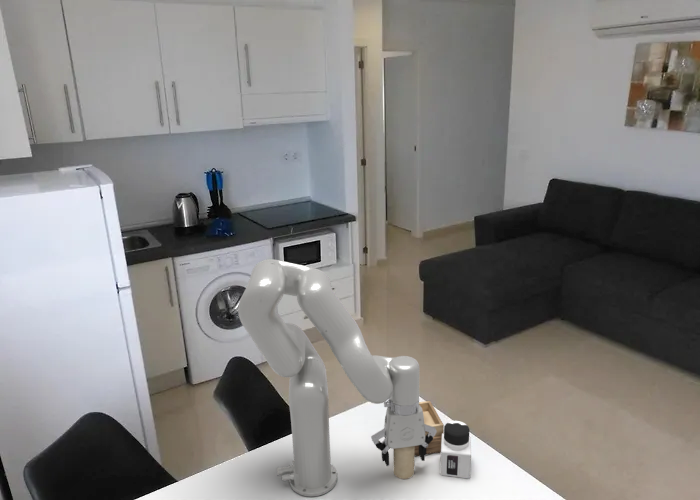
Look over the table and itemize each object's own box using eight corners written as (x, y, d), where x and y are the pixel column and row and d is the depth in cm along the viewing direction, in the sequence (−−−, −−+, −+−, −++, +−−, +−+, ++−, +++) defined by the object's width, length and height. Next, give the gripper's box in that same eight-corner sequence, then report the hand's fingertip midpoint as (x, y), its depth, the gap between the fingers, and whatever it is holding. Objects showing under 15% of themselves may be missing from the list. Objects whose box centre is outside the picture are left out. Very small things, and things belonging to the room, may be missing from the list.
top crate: (401, 441, 144) (401, 430, 143) (391, 415, 155) (390, 405, 154) (443, 435, 146) (443, 425, 145) (429, 410, 157) (430, 400, 156)
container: (470, 479, 136) (472, 436, 132) (440, 475, 138) (441, 433, 134) (469, 459, 143) (471, 418, 140) (441, 456, 145) (442, 415, 141)
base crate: (400, 458, 144) (400, 443, 143) (389, 429, 157) (389, 415, 155) (445, 452, 146) (446, 437, 145) (430, 423, 159) (430, 409, 157)
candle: (391, 466, 142) (391, 434, 139) (411, 464, 142) (412, 432, 139) (395, 480, 137) (395, 448, 134) (416, 478, 137) (416, 446, 134)
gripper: (374, 416, 128) (375, 474, 133) (441, 408, 131) (440, 465, 136) (368, 399, 135) (369, 455, 140) (432, 391, 138) (431, 446, 143)
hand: (404, 459), depth 138 cm, fingers open, 9 cm apart
